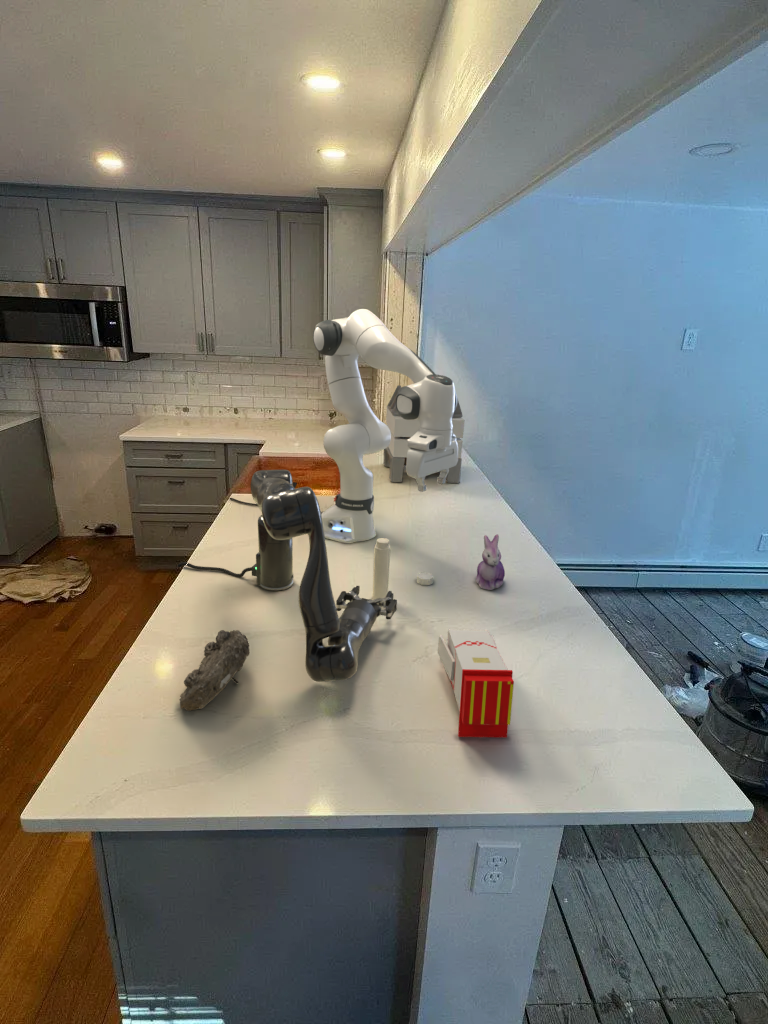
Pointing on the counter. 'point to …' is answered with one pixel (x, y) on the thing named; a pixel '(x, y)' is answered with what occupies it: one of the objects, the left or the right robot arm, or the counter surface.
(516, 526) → the counter surface
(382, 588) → the cream cylinder
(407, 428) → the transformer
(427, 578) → the lid
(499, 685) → the toy
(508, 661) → the counter surface
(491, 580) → the figurine
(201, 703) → the fossil
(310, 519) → the left robot arm
